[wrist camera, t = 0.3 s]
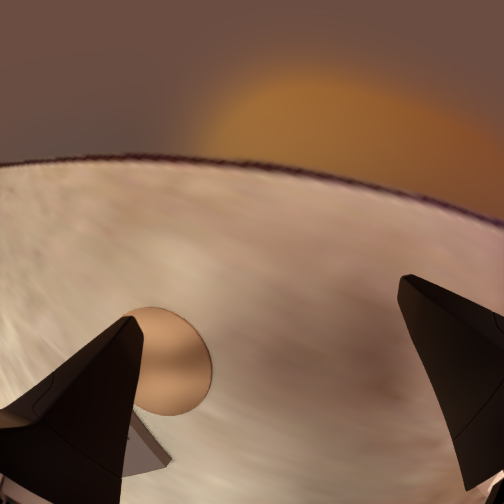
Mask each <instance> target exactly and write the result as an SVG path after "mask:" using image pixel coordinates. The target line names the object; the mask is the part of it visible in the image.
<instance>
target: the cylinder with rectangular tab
mask: <svg viewBox="0 0 504 504" xmlns="http://www.w3.org/2000/svg"><path fill="white" fill-rule="evenodd" d="M503 477H504V473H503V470H502V471H500V472H499V473H497V474H496V475H494V476H493V477H491V478H490V479H488V480H486V481H485V482H483V483H481V484H480V485H478V486H476V487H477V488H478V489H479V490H480V491H481V492H482V493H483V494H484V495H485V496H486V497H487V498H488V496H489V494H490V491H491V489H492V487H493V485H494V484H495V483H497V482H498V481H499V480H501V479H502V478H503Z"/></svg>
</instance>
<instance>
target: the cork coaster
mask: <svg viewBox="0 0 504 504" xmlns="http://www.w3.org/2000/svg"><path fill="white" fill-rule="evenodd" d="M124 316H134V317H135V318H136V320H137V322H138V324H139V326H140V328H141V330H142V331H143V334H144V344H143V352H142V360H141V369H140V376H139V381H138V386H137V390H136V395H135V400H134V404H135V405H137V406H138V407H140V408H142V409H144V410H146V411H148V412H151V413H154V414H158V415H164V416H175V415H180V414H183V413H186V412H188V411H190V410H192V409H193V408H195V407H196V406H197V405H198V404H199V403H200V402H201V401H202V400H203V398H204V397H205V395H206V393H207V391H208V389H209V386H210V382H211V375H212V368H211V361H210V357H209V353H208V350H207V348H206V346H205V344H204V342H203V340H202V339H201V337H200V336H199V334H198V333H197V332H196V330H195V329H194V328H193V327H192V326H191V325H190V324H189V323H188V322H186V321H185V320H184V319H183V318H181V317H180V316H178V315H176V314H174V313H172V312H170V311H167V310H164V309H160V308H153V307H147V308H140V309H135V310H133V311H130V312H128V313H127V314H125V315H124ZM122 317H123V316H122Z"/></svg>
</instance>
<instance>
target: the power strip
mask: <svg viewBox="0 0 504 504" xmlns="http://www.w3.org/2000/svg"><path fill="white" fill-rule="evenodd" d="M170 460H171V458H170V456H169V455H168V454H167V453H166V452H165V451H164V450H163V448H162V447H161V446H160V445H159V444H158V442H157V441H156V440H155V439H154V438H153V436H152V435H151V434H150V433H149V431H148V430H147V429H146V427H145V426H144V425H143V423H142V422H141V421H140V419H139V418H138V417H137V415H136V414H135V413H134V411H133V410H132V416H131V421H130V427H129V433H128V439H127V445H126V452H125V459H124V466H123V474H122V477H127V476H132V475H137V474H141V473H146V472H150V471H154V470H158V469H162V468H165V467H167V465H168V464H169V462H170Z"/></svg>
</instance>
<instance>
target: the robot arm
mask: <svg viewBox="0 0 504 504" xmlns="http://www.w3.org/2000/svg"><path fill="white" fill-rule="evenodd" d="M397 300H398V304H399V307H400V309H401V312H402V314H403V317H404V320H405V323H406V325H407V328H408V331H409V334H410V336H411V339H412V341H413V344H414V346H415V348H416V350H417V352H418V354H419V356H420V359H421V361H422V363H423V365H424V368H425V370H426V372H427V375H428V377H429V379H430V382H431V384H432V387H433V389H434V391H435V394H436V397H437V399H438V402H439V404H440V407H441V410H442V412H443V415H444V418H445V421H446V424H447V426H448V429H449V432H450V435H451V438H452V441H453V445H454V449H455V452H456V455H457V459H458V462H459V466H460V470H461V474H462V478H463V482H464V486H465V490H466V492H467V491H469V490H471V489H473V488H474V487H476V486H478V485H480V484H481V483H483V482H485V481H486V480H488V479H490V478H491V477H493V476H494V475H496V474H497V473H499V472H500V471H502V470H503V473H504V317H503V316H501V315H499V314H497V313H495V312H492V311H491V310H489V309H487V308H485V307H483V306H481V305H479V304H477V303H475V302H472V301H470V300H468V299H466V298H464V297H462V296H460V295H458V294H455V293H453V292H451V291H449V290H447V289H445V288H442V287H440V286H438V285H436V284H433V283H431V282H429V281H427V280H424V279H422V278H420V277H418V276H415V275H413V274H409V275H404V276H402V277H401V278H400V282H399V289H398V295H397ZM143 344H144V334H143V331H142V330H141V328H140V326H139V324H138V322H137V320H136V318H135V317H134V316H123V317H121V318H120V319H119V320H117V321H116V322H115V323H113V324H112V325H111V326H110V327H108V328H107V329H106V330H104V331H103V332H102V333H101V334H99V335H98V336H97V337H96V338H94V339H93V340H92V341H91V342H89V343H88V344H87V345H85V346H84V347H83V348H82V349H80V350H79V351H78V352H77V353H75V354H74V355H73V356H72V357H70V358H69V359H68V360H67V361H66V362H64V363H63V364H62V365H61V366H59V367H58V368H57V369H56V370H55V371H53V372H52V373H51V374H50V375H48V376H47V377H46V378H45V379H43V380H42V381H41V382H40V383H38V384H37V385H36V386H34V387H33V388H32V389H30V390H29V391H28V392H26V393H25V394H23V395H22V396H21V397H19V398H18V399H17V400H15V401H14V402H12V403H11V404H10V405H8V406H7V407H5V408H3V409H0V504H120V494H121V484H122V479H121V478H122V474H123V466H124V459H125V452H126V445H127V439H128V433H129V427H130V421H131V416H132V410H133V405H134V400H135V395H136V390H137V386H138V381H139V376H140V369H141V360H142V352H143ZM485 504H504V477H503V478H502V479H501V480H499V481H498V482H497V483H495V484H494V485H493V487H492V489H491V491H490V494H489V496H488V498H487V501H486V503H485Z"/></svg>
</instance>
